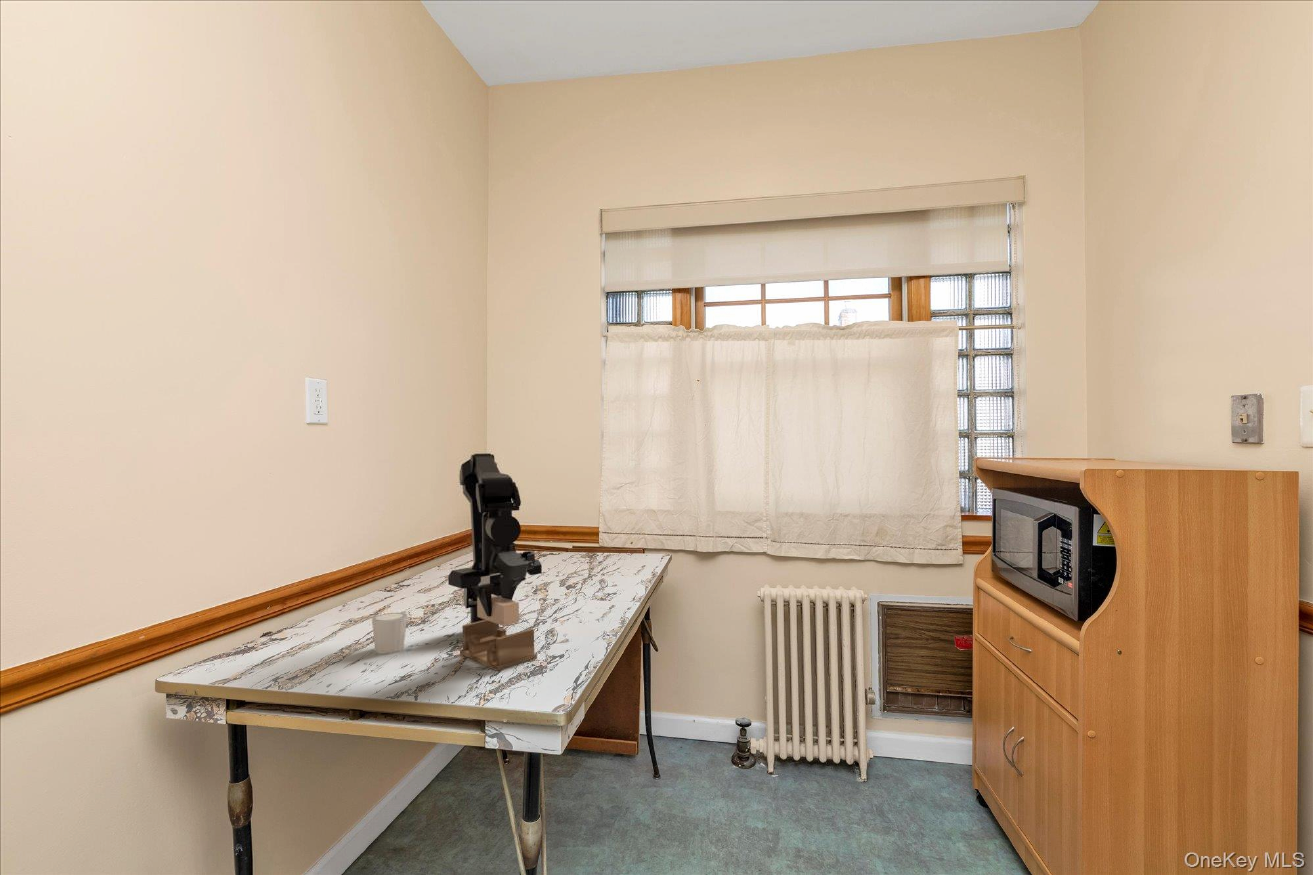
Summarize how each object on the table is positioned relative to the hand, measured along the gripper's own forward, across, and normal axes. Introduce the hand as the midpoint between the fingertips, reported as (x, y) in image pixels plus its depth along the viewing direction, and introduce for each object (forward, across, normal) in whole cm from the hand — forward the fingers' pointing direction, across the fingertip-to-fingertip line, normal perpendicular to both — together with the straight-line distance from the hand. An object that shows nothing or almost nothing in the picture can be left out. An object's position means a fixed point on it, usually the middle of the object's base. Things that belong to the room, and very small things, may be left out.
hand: (497, 614), depth 123 cm
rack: (+8, 0, 0) cm, 9 cm away
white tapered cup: (+9, -13, +21) cm, 27 cm away
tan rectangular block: (+1, 0, 0) cm, 1 cm away
